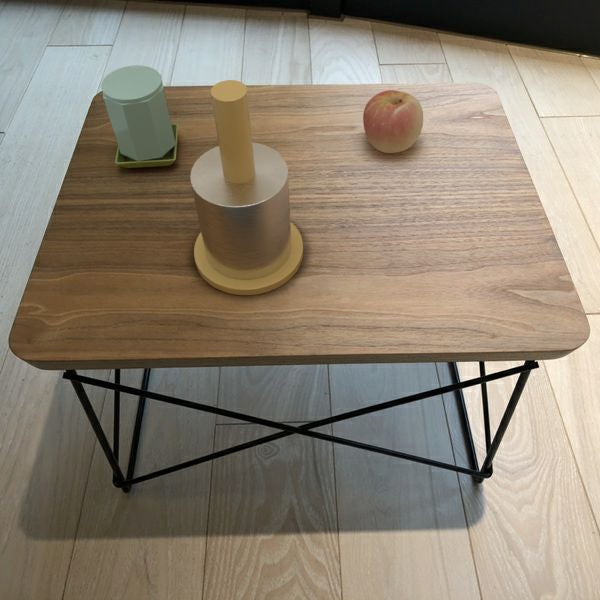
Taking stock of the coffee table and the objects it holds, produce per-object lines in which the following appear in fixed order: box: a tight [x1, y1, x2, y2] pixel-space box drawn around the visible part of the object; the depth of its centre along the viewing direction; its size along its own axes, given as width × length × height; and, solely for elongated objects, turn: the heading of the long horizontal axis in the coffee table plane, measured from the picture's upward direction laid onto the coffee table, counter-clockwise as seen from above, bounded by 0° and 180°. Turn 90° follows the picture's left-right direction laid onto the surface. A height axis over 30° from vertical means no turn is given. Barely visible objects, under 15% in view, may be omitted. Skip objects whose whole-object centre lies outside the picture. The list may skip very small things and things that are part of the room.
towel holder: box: [189, 79, 304, 296], centre depth 70 cm, size 14×14×24 cm
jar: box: [101, 64, 176, 161], centre depth 86 cm, size 8×8×10 cm
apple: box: [362, 89, 424, 154], centre depth 89 cm, size 9×9×8 cm
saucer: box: [114, 123, 179, 169], centre depth 91 cm, size 9×9×2 cm
